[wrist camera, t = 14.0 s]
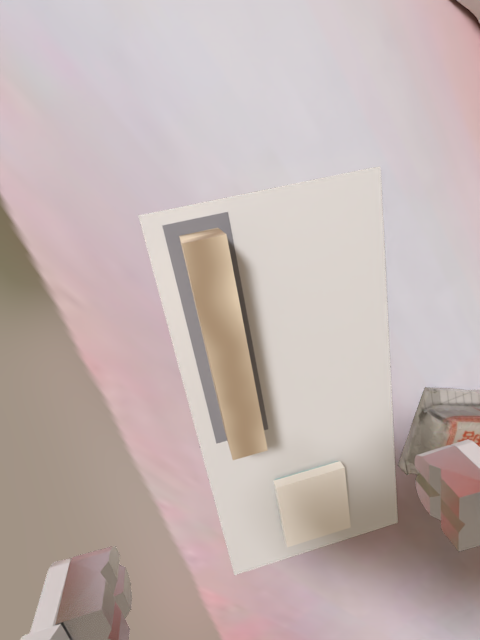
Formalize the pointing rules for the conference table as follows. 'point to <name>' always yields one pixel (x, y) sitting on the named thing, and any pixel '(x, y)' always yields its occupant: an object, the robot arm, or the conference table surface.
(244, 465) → the mat
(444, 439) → the packaged product
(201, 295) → the long tan strip
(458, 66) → the conference table surface
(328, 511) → the tile
